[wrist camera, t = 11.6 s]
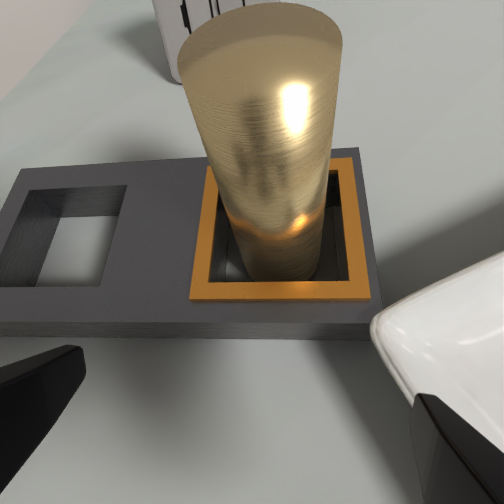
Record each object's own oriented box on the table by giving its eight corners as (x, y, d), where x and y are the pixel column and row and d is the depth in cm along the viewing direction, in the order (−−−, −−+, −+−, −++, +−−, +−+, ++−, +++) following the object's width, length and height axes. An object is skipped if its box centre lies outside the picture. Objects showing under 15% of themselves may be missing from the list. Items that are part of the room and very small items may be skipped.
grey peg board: (351, 182, 21) (359, 143, 18) (371, 340, 16) (386, 321, 13) (51, 197, 24) (17, 165, 21) (-5, 336, 19) (-59, 319, 16)
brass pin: (332, 241, 19) (370, 17, 9) (295, 304, 18) (288, 124, 7) (268, 213, 21) (235, -7, 10) (229, 268, 19) (144, 77, 9)
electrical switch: (174, 87, 28) (127, -56, 21) (183, 57, 31) (145, -79, 23) (283, 77, 27) (277, -79, 19) (283, 46, 30) (277, -100, 22)
